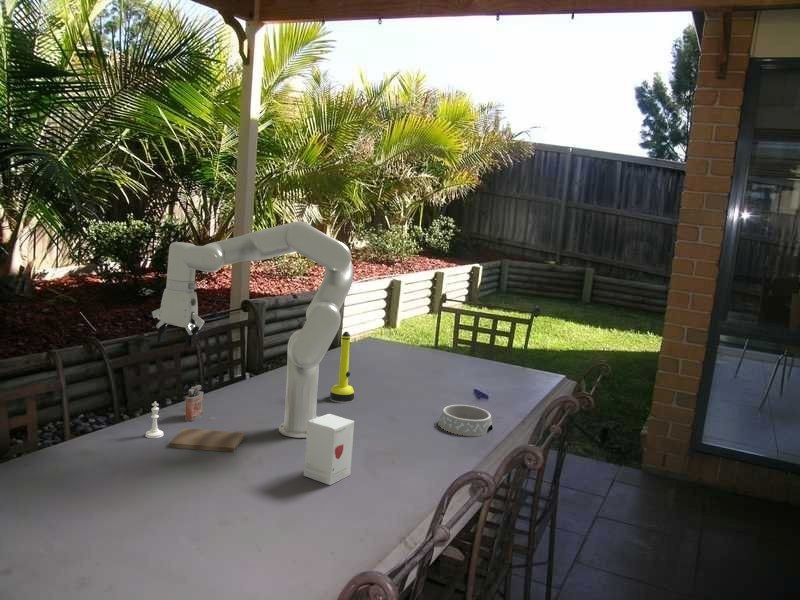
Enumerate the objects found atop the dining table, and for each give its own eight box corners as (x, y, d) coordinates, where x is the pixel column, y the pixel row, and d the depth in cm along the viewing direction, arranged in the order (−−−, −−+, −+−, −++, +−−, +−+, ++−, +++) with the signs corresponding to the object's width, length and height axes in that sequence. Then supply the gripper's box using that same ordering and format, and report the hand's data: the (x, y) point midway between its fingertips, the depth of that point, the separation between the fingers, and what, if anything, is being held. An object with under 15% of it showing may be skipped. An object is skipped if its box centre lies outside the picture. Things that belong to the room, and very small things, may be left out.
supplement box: (330, 486, 162) (334, 429, 159) (302, 476, 166) (306, 420, 164) (351, 475, 169) (355, 420, 167) (324, 465, 174) (328, 412, 172)
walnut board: (244, 436, 190) (244, 432, 190) (234, 452, 178) (234, 447, 178) (183, 432, 190) (183, 428, 190) (169, 447, 178) (169, 443, 178)
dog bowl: (497, 425, 220) (499, 410, 219) (481, 441, 203) (483, 424, 202) (451, 415, 227) (452, 400, 226) (431, 429, 210) (432, 413, 209)
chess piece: (148, 431, 188) (149, 398, 187) (165, 432, 188) (166, 399, 187) (143, 437, 183) (143, 404, 182) (160, 438, 184) (161, 404, 182)
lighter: (192, 422, 198) (193, 391, 197) (182, 420, 199) (183, 389, 198) (205, 414, 206) (206, 384, 205) (195, 413, 207) (196, 383, 206)
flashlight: (329, 331, 228) (352, 335, 225) (341, 328, 236) (363, 331, 233) (325, 399, 232) (347, 404, 228) (336, 393, 240) (358, 398, 237)
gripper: (213, 289, 184) (208, 348, 186) (164, 280, 190) (160, 337, 192) (197, 291, 177) (192, 352, 179) (146, 282, 183) (142, 341, 185)
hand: (175, 344), depth 186 cm, fingers open, 9 cm apart
